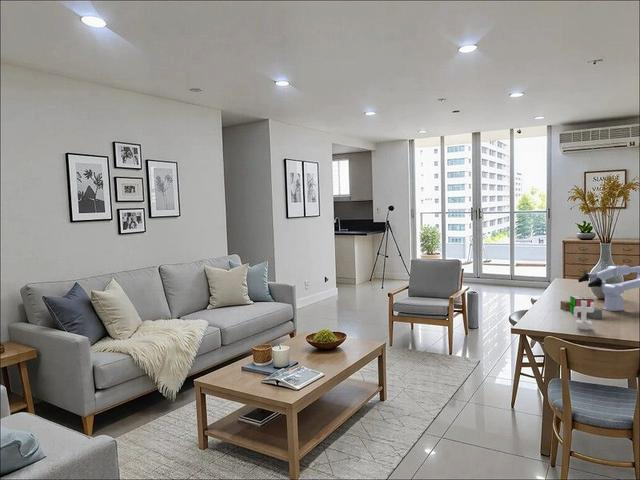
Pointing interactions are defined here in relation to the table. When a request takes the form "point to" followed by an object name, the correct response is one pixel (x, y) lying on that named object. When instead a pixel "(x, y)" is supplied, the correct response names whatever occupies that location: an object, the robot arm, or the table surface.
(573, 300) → the puzzle cube
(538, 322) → the table surface
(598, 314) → the charcoal block
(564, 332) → the table surface
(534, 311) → the table surface
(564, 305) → the walnut block
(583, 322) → the figurine
